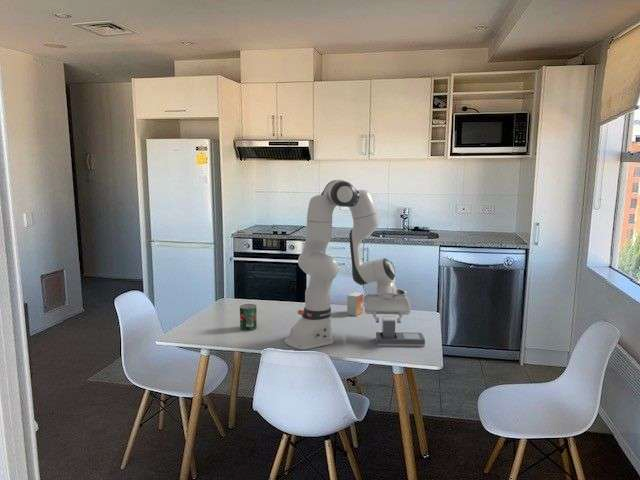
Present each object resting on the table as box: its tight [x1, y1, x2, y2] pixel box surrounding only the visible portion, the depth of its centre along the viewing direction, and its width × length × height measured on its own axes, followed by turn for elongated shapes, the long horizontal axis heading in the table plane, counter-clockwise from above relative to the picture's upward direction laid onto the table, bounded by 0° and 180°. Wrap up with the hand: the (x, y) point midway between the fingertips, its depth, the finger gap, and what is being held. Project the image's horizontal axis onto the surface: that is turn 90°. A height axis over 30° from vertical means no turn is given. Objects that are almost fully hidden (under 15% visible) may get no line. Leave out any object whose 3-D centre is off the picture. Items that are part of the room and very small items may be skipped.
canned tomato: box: [239, 303, 258, 332], centre depth 231 cm, size 8×8×11 cm
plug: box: [381, 315, 396, 339], centre depth 212 cm, size 5×5×10 cm
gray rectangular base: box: [375, 331, 426, 347], centre depth 212 cm, size 20×9×4 cm, turn 88°
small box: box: [346, 291, 365, 317], centre depth 255 cm, size 8×6×10 cm
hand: (388, 322), depth 213 cm, fingers open, 8 cm apart
